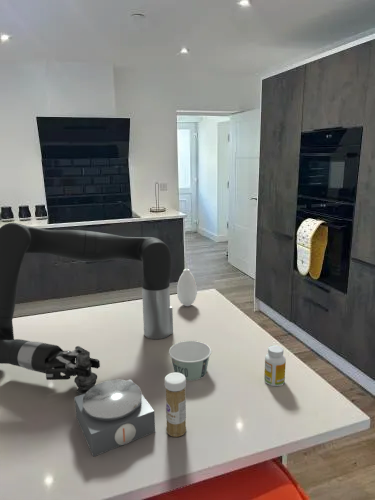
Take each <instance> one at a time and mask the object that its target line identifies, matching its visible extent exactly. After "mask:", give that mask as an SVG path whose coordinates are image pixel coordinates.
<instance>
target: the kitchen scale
mask: <svg viewBox="0 0 375 500" xmlns="http://www.w3.org/2000/svg"><path fill="white" fill-rule="evenodd" d="M127 381H131V382H133V380H132V379H128V380H127ZM84 395H85V394H83V395H80V396H79V395H77V396H74V397H73V399H74V408H75V417H76V420H77V423H78V425H79V426H80V429H81V431H82V434H83V436H84V438H85V441H86V443H87V445H88V448H89V450H90V452H91V455H92V457H95V456H98V455H101V454H104V453H106V452H109V451H111V450H113V449H115V448H116V449H117V448H118V447H120V446H123V445H127V444H129V443H131V442H133V441H136V440H139V439H141V438H142V437H143V438H144V437H146V436H149V435H151V434H153V433H155V432H156V424H155V423H156V420H155V418H156V417H155V410H154V409H153V407H152V406H151V404H150V403H149V402H148V400H147V399H146V398H145V396H144V394H142V401H141V404H140V406H139V407H138V408H137V409H136V410H135V411H134V412H133V413H131V414H130V415H128V416H126V417H124V418H121V419H117V420H110V421H102V420H97V419H94V418H91V417H90V416H88V415H87V414H86V413H85V411H84V409H83V397H84Z"/></svg>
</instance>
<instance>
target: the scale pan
mask: <svg viewBox="0 0 375 500" xmlns="http://www.w3.org/2000/svg"><path fill="white" fill-rule="evenodd" d="M142 395H143V394H142V390H141V387H139V385H137V384H136V383H135V382H134V381H132V382H131V381H127V380H126V379H110V380H105V381H102V382H99V383H97V384H95V386H93V387H92V388H90V389H89V390H88V391H87V392H86V394H85V395H84V397H83V409H84V411H85V413H86V414H87V415H88V416H90V417H91V418H94V419H97V420H102V421H110V420H117V419H121V418H124V417H126V416H128V415H130V414H131V413H133V412H134V411H135V410H136V409H137V408H138V407H139V406H140V404H141V401H142Z"/></svg>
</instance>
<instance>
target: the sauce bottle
mask: <svg viewBox="0 0 375 500" xmlns="http://www.w3.org/2000/svg"><path fill="white" fill-rule="evenodd" d="M176 294H177V299H178V301H179V303H180V304H182V305H183V306H185V307H190V306H192V304H195V303H194V302H195V301H196V298H197V295H198V287H197V283H196V279H195V277H194V275H193V273H192V272H191V269H189V268H188V263H186V264H185V269H183V271H182V273H181V275H180V276H179V279H178V281H177V287H176Z"/></svg>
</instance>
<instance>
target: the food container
mask: <svg viewBox="0 0 375 500" xmlns="http://www.w3.org/2000/svg"><path fill="white" fill-rule="evenodd" d="M168 355H169V357H170V358H171V362H172V363H171V364H172V368H173V373H175V372H177V373H181V374H183V375H184V376H185V378H186V381H196V380H200V379H202V378H203V377H205V376H206V374H207V371H208V367H209V360H210V356H211V355H212V349H211V347H210V345H208V344H207V343H205V342H202V341H197V340H184V341H183V340H182V341H179V342H176V343H174V344H173V345H171V346H170V348H169V349H168Z"/></svg>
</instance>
